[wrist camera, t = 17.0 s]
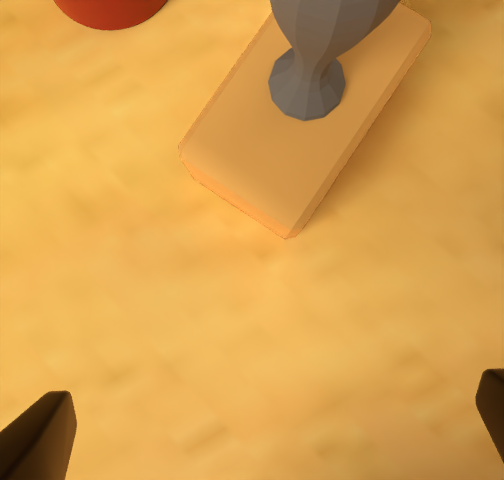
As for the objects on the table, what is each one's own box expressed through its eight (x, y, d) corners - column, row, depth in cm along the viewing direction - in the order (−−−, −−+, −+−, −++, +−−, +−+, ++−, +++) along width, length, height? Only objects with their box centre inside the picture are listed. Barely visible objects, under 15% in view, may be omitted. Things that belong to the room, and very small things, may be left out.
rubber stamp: (303, 8, 20) (372, -400, 8) (405, 70, 19) (639, -258, 8) (188, 174, 19) (70, 6, 7) (290, 243, 19) (347, 184, 7)
